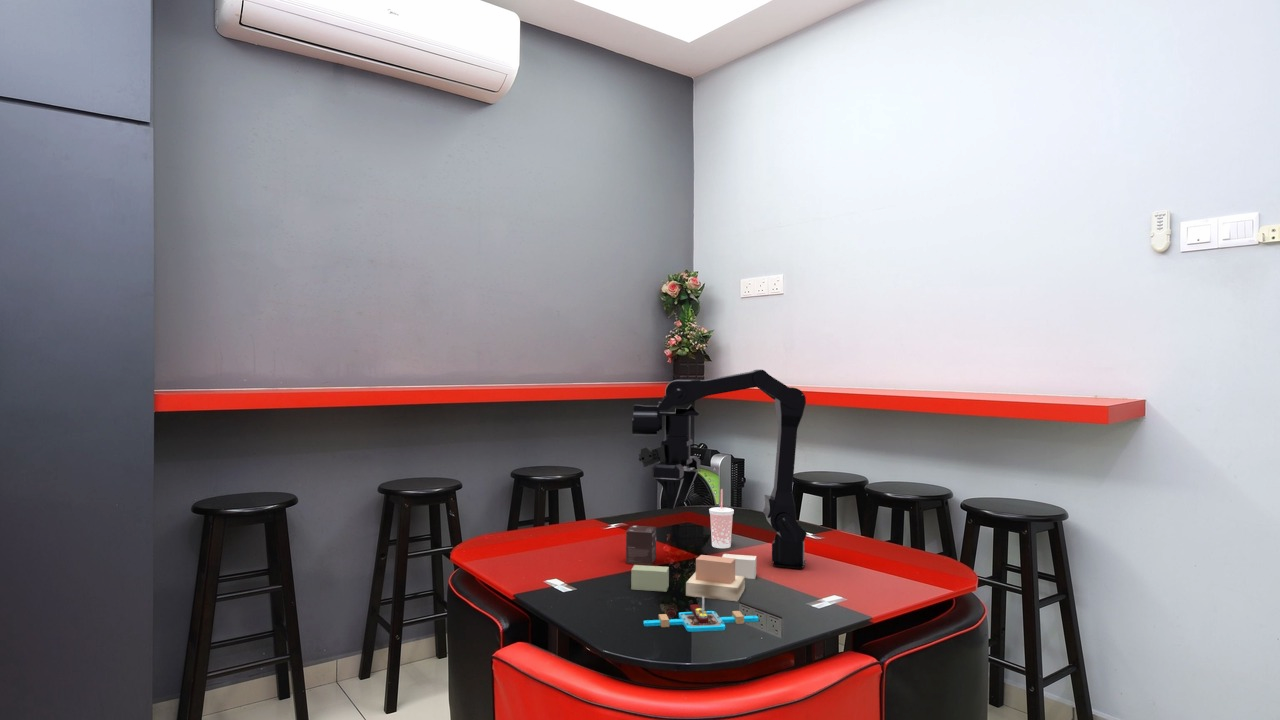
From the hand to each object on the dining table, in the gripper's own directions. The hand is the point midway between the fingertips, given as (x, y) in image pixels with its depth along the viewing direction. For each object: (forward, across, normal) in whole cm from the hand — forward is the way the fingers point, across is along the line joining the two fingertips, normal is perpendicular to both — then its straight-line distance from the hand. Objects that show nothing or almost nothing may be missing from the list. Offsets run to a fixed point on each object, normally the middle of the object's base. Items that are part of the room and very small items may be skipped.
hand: (676, 505), depth 158 cm
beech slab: (+14, +17, +13) cm, 25 cm away
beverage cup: (+13, -19, +6) cm, 24 cm away
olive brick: (+13, +19, 0) cm, 23 cm away
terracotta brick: (+10, +17, +13) cm, 24 cm away
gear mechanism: (+14, +34, +14) cm, 39 cm away
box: (+13, +1, -8) cm, 16 cm away
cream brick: (+13, +4, +15) cm, 20 cm away
